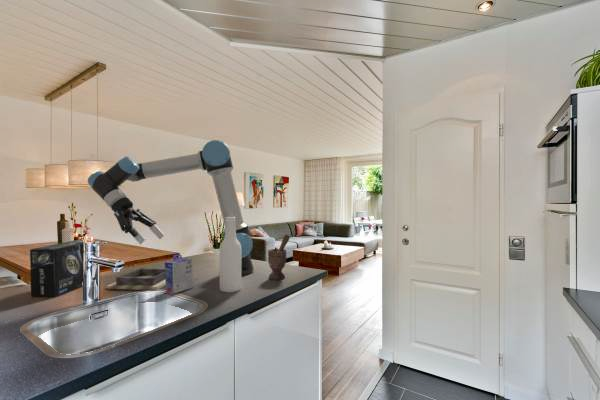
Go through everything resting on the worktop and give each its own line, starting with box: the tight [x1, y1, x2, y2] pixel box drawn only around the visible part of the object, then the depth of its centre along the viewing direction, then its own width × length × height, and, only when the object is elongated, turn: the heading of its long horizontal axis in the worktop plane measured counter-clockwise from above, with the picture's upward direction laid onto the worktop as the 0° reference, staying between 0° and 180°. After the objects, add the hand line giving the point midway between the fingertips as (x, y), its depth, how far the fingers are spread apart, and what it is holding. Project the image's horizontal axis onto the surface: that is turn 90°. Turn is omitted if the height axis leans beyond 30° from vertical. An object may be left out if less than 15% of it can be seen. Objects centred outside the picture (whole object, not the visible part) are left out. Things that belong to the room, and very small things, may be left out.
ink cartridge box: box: [164, 253, 194, 295], centre depth 121 cm, size 10×6×14 cm, turn 149°
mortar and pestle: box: [267, 234, 290, 281], centre depth 140 cm, size 12×9×20 cm
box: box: [29, 239, 84, 298], centre depth 123 cm, size 23×10×19 cm, turn 178°
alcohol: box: [218, 217, 242, 293], centre depth 121 cm, size 9×9×30 cm
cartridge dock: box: [106, 267, 166, 291], centre depth 132 cm, size 22×20×4 cm
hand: (153, 239), depth 122 cm, fingers open, 13 cm apart
